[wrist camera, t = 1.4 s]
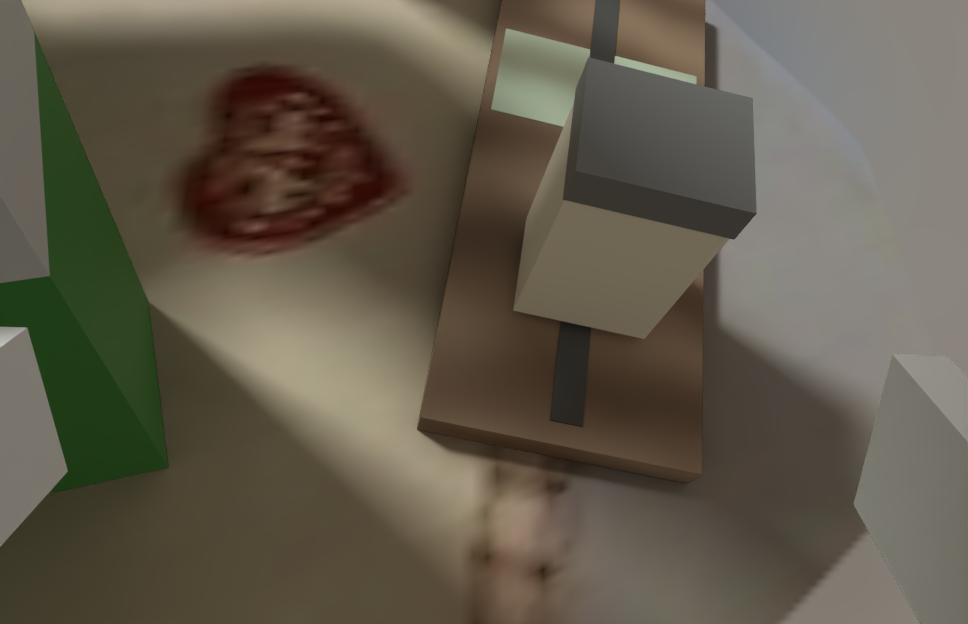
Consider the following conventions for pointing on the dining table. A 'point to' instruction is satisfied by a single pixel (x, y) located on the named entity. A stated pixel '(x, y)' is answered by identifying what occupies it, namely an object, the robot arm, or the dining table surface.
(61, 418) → the hardback book
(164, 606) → the dining table surface
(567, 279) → the fader knob
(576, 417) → the fader track
